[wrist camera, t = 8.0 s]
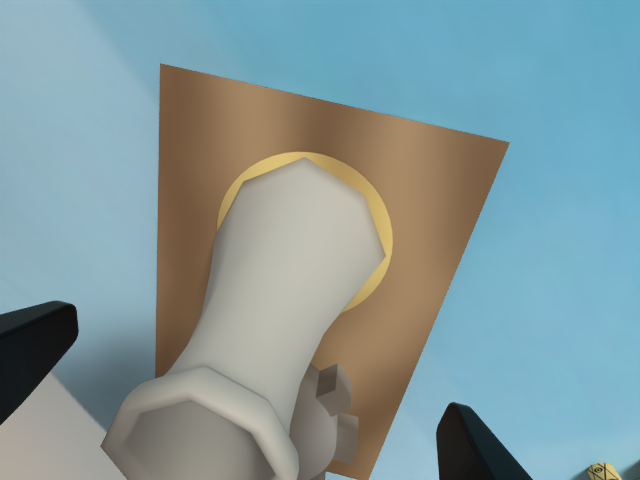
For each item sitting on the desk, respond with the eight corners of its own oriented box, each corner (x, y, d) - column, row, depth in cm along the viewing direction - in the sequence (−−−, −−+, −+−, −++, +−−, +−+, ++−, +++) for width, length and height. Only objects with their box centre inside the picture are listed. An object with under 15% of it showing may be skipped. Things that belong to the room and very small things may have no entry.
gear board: (164, 416, 22) (123, 480, 18) (176, 67, 14) (104, 49, 10) (364, 468, 22) (365, 546, 18) (497, 140, 13) (552, 150, 10)
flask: (293, 335, 16) (207, 618, 7) (191, 228, 15) (-83, 414, 6) (414, 257, 14) (515, 526, 5) (308, 122, 13) (166, 146, 3)
